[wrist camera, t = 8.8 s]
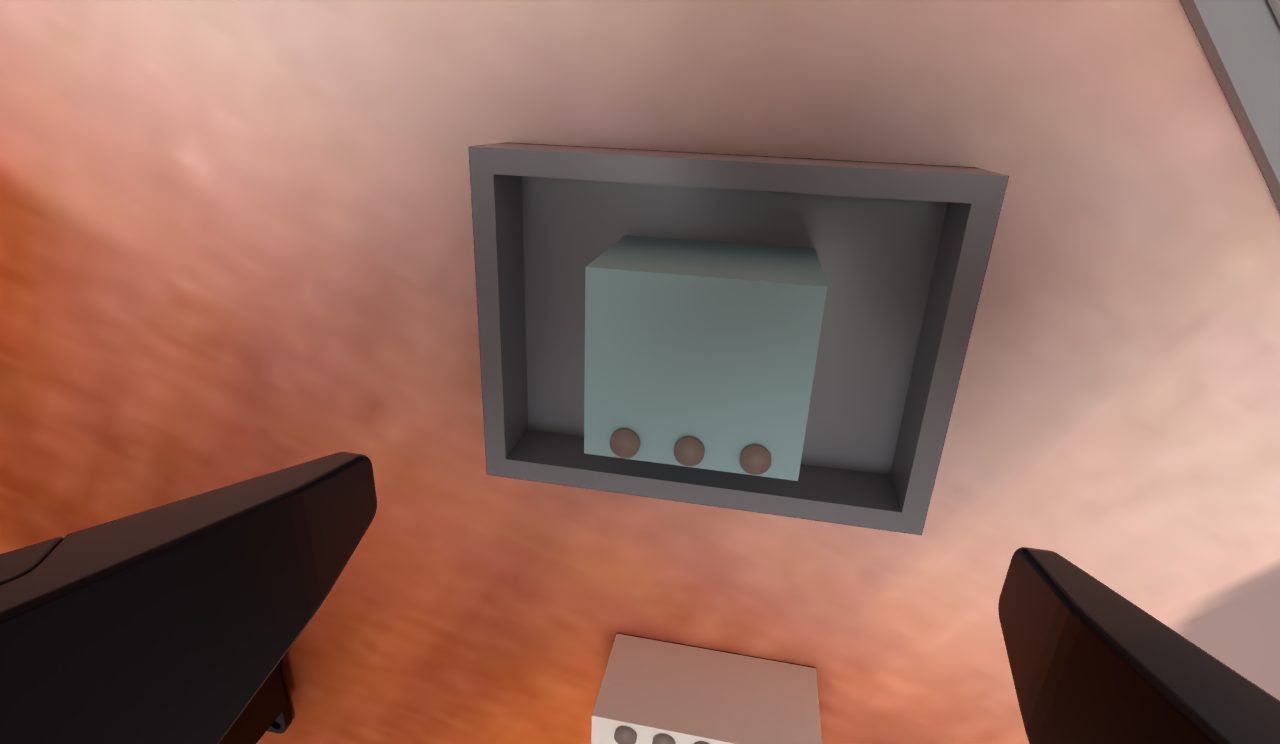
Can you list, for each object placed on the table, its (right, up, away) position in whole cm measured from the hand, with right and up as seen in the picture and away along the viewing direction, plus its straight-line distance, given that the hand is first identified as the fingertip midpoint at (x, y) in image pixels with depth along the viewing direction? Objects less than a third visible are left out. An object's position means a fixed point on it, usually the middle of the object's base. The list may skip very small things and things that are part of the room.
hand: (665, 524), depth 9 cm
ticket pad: (+2, -13, +16) cm, 20 cm away
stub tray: (+2, +4, +9) cm, 10 cm away
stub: (+2, +3, +9) cm, 10 cm away
